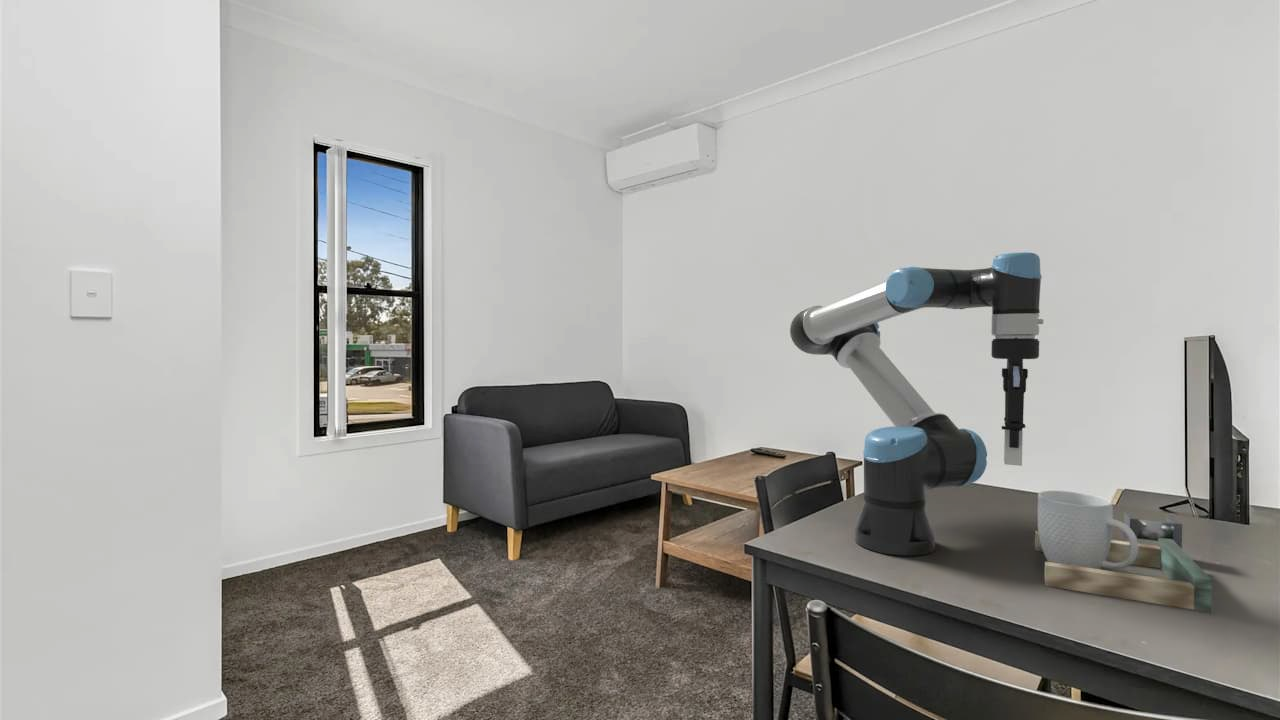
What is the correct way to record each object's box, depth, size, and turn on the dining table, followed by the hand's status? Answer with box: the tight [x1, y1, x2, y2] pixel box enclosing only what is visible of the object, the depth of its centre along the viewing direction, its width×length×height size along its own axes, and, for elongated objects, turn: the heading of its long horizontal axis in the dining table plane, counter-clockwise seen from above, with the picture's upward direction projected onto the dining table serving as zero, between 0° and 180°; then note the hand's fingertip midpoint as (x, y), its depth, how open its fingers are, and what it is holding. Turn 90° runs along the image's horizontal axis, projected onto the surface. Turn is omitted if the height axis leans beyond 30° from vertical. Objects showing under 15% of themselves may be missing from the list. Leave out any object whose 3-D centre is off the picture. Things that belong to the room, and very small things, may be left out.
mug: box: [1037, 490, 1139, 570], centre depth 108 cm, size 15×11×13 cm
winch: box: [1123, 511, 1183, 550], centre depth 115 cm, size 8×6×8 cm
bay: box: [1034, 529, 1213, 613], centre depth 106 cm, size 21×21×5 cm
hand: (1012, 463), depth 113 cm, fingers closed
